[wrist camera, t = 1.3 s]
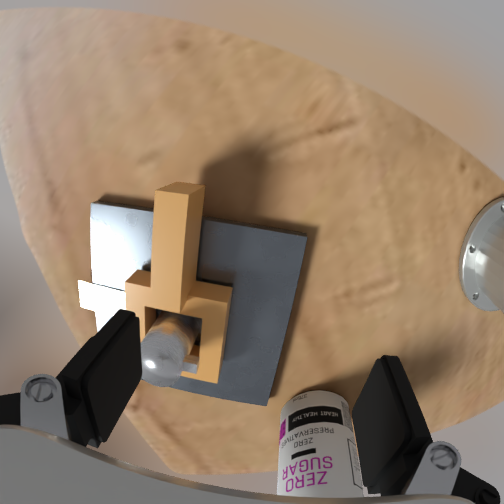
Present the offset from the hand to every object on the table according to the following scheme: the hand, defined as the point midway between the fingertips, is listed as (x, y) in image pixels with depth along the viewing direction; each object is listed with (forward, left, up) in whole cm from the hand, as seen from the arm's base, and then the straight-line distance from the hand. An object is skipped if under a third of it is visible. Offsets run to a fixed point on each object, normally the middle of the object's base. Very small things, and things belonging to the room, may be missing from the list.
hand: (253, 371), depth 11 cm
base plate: (+7, +10, -18) cm, 22 cm away
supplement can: (-9, +21, -18) cm, 29 cm away
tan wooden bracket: (+7, +5, -16) cm, 19 cm away
